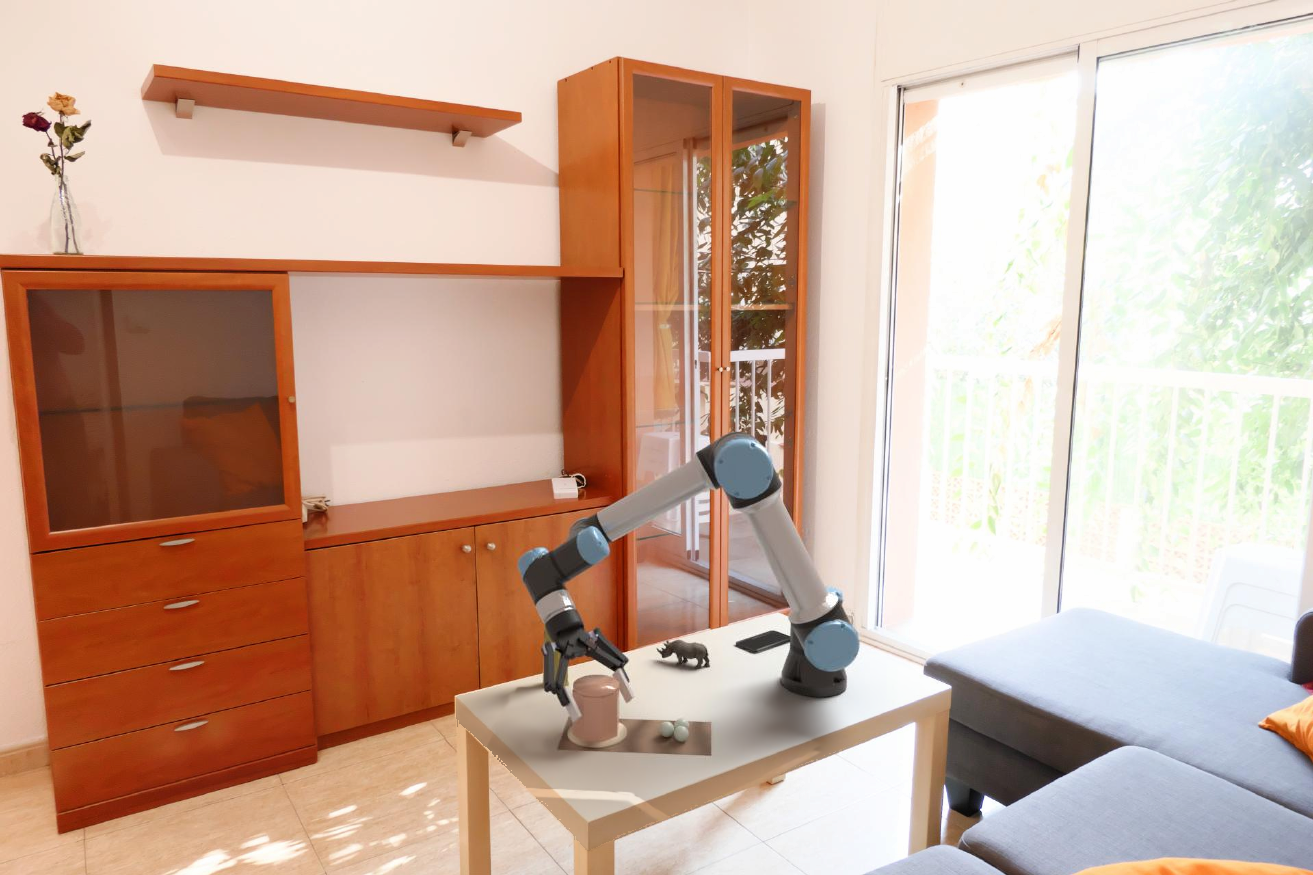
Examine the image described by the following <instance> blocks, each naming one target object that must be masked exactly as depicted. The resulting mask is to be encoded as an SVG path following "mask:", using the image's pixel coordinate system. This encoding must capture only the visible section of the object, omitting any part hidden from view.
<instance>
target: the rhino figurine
mask: <svg viewBox="0 0 1313 875" xmlns="http://www.w3.org/2000/svg"><path fill="white" fill-rule="evenodd" d="M662 644H663V645H664V647H665V648H664V647H661V649H659V648H658V647H656V651H657V652H658V653H659V654H660V655H661V658H662V659H666V658H669V657H671V656H672V655H673V654H675V655H676V658H677V660H678V661H677V662H676V663H675V665H676V666H679V667H680V666H683V664H686V663H688V662H689V660H694V659H696V661H697V664H696V665H695V666H694V668H695V669H696V670H700V669H702V668H703V667H705V668H709V667H710V666H711V665H710V661H711V660H710V658H709V655H710V654H709V652H708V648H707V646H706V645H704V644H703V643H698V642H686V641H684V640H682V639H675V640H673V641H671V642H670V641H669V640H668V639H667V640H666V641H665V642H663V643H662ZM683 662H684V663H683ZM704 662H705V663H704ZM703 664H704V665H703ZM702 665H703V667H702Z"/></svg>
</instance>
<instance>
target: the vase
mask: <svg viewBox="0 0 1313 875" xmlns="http://www.w3.org/2000/svg"><path fill="white" fill-rule="evenodd" d="M547 641H549V642H550V643H553V641H552V640H551V639H550V637H549V635H548V633H547V631H546V628H545V625H543V645H544V644H545V643H546V642H547ZM560 655H561V654H560V653H559V652H558V651H556V650H555V651H554V681H555V678H556V674H557V670H558V666H559V659H560ZM542 658H543V663H542V665H543V666H542V684H541V686H542V687H543V689H544V656H543V655H542ZM569 684H570V682H569V668H567V672H566V677H565V681H564V685H563V688H564V687H565V686H568V687H569Z"/></svg>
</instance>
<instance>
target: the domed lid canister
mask: <svg viewBox="0 0 1313 875" xmlns="http://www.w3.org/2000/svg"><path fill="white" fill-rule="evenodd" d="M571 694H572V696H573V698H574V700H575V702H576V704H577V707H578V709H579V711H580V713H581V715H582V716H581V717H580V718H579V719H578V720H577V721H576V722H574V723H573V735H574V736H576V737H578V738H579V739H581V740H582V741H588V742H604V741H606V740H609V739H611V738H614V737H616V736H617V735H618V730H619V719H620V690H619V682H618V681H617V680H616V679H615V678H613V676H609V675H605V674H590V675H585V676H581V677H578V678H577V679H575V680H574V681H573V684H572V692H571Z"/></svg>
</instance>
